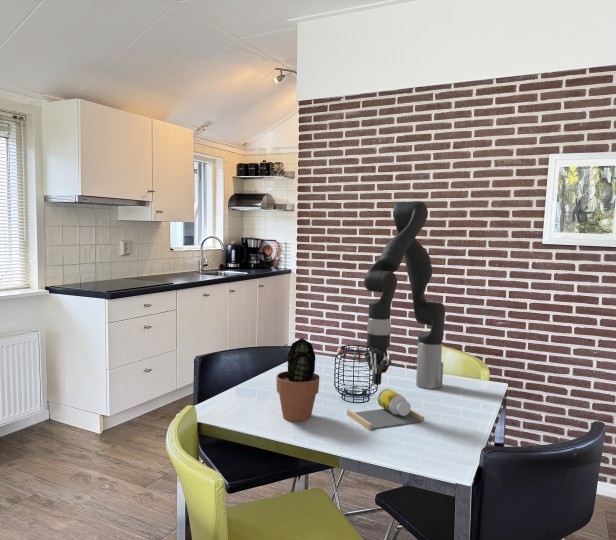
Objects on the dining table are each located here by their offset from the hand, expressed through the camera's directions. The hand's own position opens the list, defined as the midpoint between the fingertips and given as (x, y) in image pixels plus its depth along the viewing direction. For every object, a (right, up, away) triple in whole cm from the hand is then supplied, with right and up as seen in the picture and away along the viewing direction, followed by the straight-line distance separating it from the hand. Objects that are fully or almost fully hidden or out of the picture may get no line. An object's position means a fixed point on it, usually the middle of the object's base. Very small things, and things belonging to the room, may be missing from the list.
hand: (376, 384), depth 168 cm
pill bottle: (+3, -6, +5) cm, 8 cm away
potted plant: (-26, -9, -5) cm, 28 cm away
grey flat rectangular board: (+2, -10, -4) cm, 11 cm away
